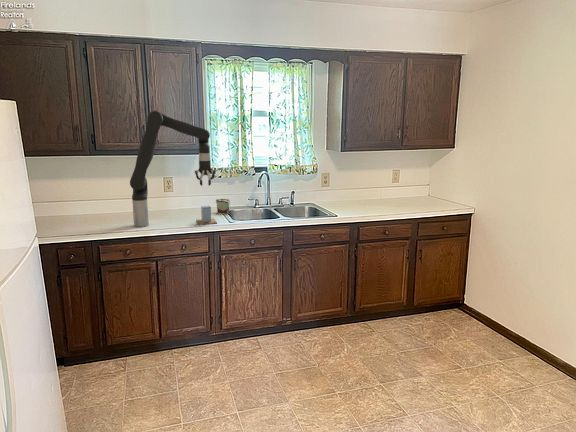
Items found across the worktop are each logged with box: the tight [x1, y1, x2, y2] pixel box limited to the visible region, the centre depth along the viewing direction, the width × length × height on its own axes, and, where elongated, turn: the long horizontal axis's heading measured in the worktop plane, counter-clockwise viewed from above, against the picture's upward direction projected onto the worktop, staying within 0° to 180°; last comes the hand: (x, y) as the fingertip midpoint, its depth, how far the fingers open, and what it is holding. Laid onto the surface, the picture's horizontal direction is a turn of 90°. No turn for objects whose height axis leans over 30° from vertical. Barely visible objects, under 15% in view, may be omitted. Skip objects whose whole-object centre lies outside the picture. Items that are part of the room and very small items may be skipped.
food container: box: [215, 198, 231, 215], centre depth 325 cm, size 12×6×10 cm, turn 57°
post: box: [195, 218, 218, 226], centre depth 295 cm, size 12×12×8 cm
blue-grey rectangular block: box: [200, 205, 212, 222], centre depth 295 cm, size 6×6×10 cm
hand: (205, 185), depth 291 cm, fingers open, 4 cm apart
